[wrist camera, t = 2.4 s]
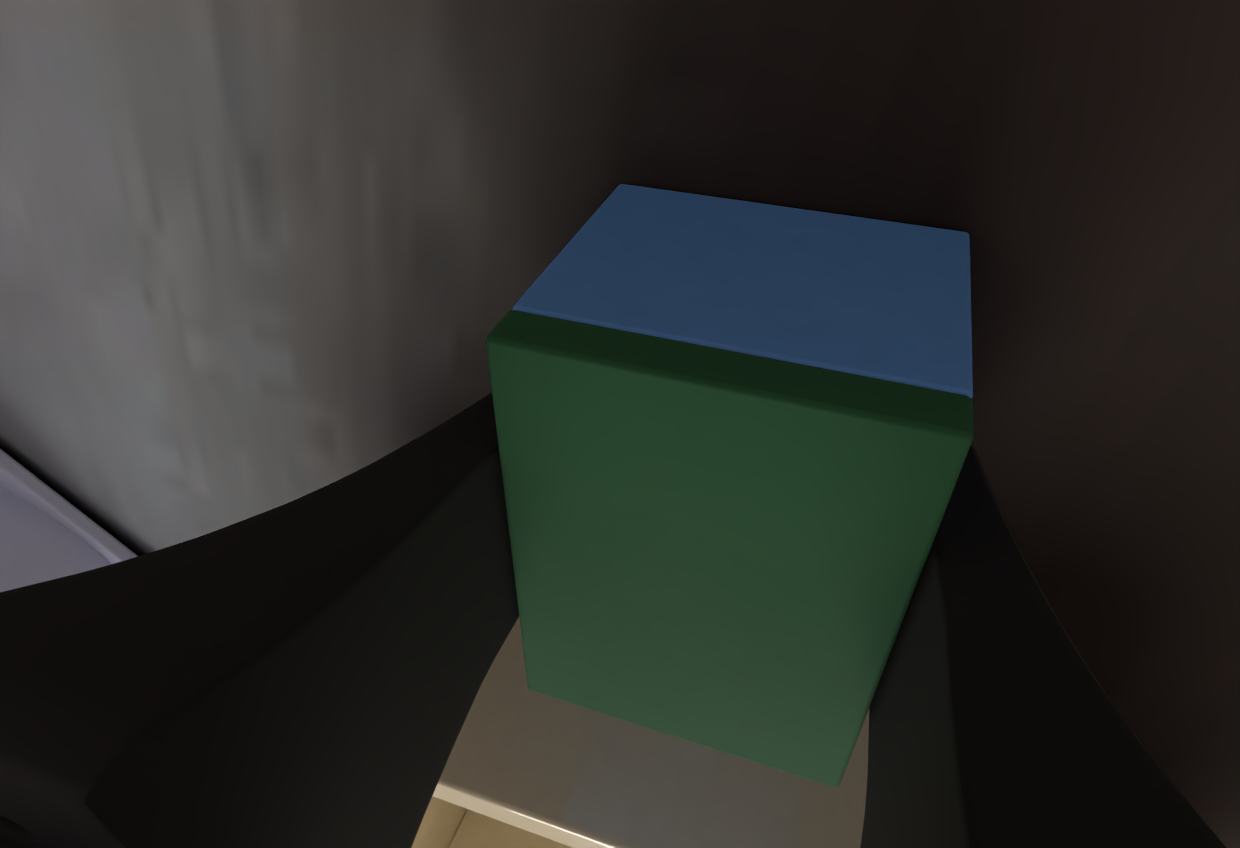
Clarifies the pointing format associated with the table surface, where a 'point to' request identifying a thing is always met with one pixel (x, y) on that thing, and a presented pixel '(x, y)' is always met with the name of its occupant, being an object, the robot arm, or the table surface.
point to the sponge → (730, 463)
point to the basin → (619, 782)
